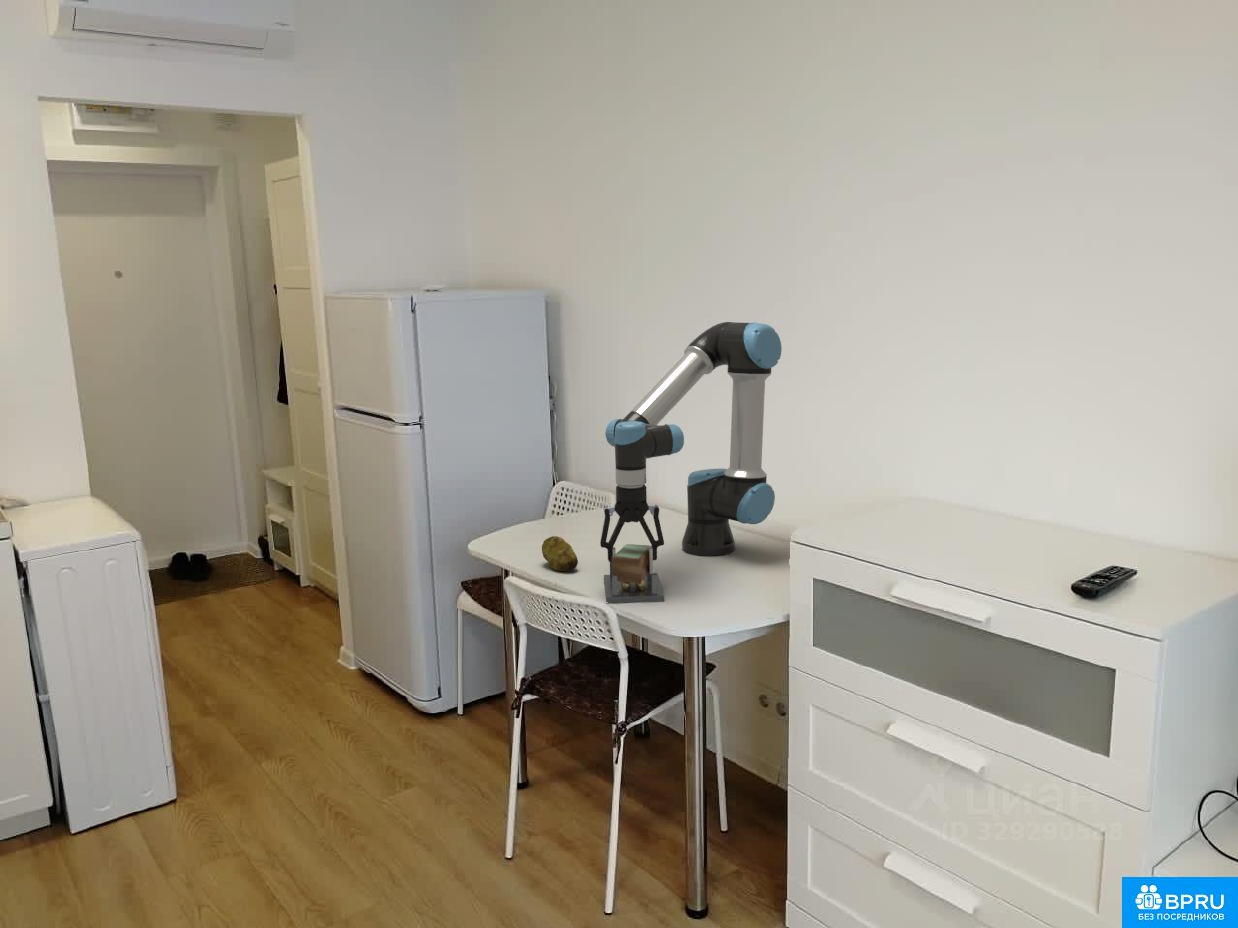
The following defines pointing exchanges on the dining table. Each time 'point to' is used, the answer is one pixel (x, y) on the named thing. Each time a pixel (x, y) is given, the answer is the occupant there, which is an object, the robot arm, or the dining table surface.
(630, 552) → the block
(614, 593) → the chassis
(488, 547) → the dining table surface
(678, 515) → the dining table surface
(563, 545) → the potato
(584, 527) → the dining table surface
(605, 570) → the dining table surface
